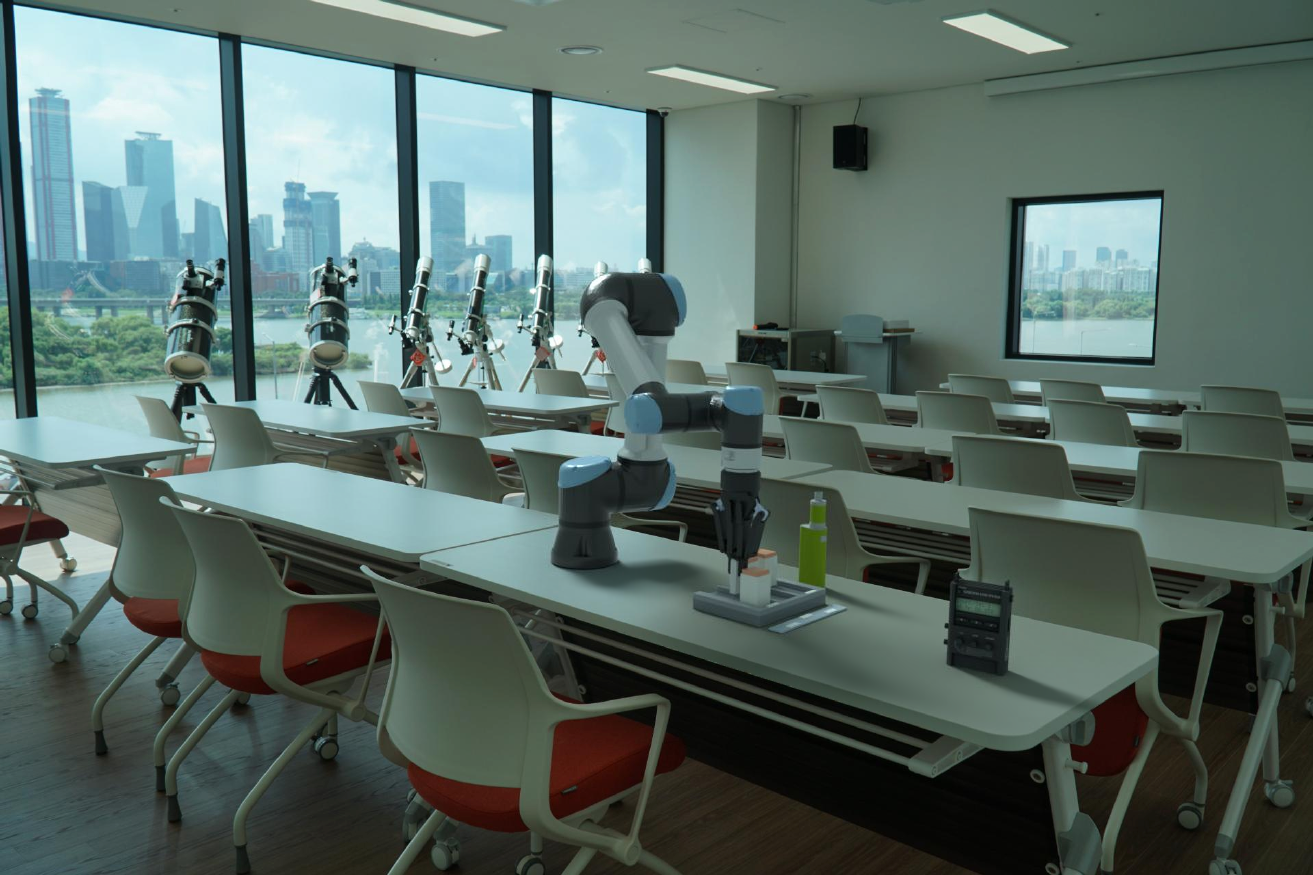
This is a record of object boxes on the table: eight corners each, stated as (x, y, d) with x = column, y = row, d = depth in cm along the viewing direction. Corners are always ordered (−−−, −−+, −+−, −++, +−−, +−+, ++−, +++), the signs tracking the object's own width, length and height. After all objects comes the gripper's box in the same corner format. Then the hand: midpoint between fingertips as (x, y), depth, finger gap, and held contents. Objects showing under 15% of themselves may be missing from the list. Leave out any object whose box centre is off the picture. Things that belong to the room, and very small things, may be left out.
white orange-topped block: (748, 584, 200) (749, 551, 199) (760, 580, 203) (761, 548, 202) (764, 588, 197) (765, 555, 196) (776, 584, 200) (777, 551, 199)
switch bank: (692, 608, 191) (693, 592, 190) (760, 587, 206) (760, 572, 206) (759, 627, 180) (760, 609, 180) (825, 603, 195) (825, 587, 195)
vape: (816, 590, 204) (819, 494, 201) (795, 584, 209) (798, 490, 206) (828, 587, 206) (832, 492, 204) (807, 581, 211) (810, 488, 208)
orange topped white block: (739, 604, 186) (740, 569, 185) (753, 600, 189) (753, 565, 188) (756, 609, 183) (757, 573, 182) (769, 604, 186) (771, 569, 185)
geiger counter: (938, 664, 162) (942, 574, 160) (946, 657, 166) (951, 569, 164) (1003, 678, 156) (1009, 585, 154) (1011, 670, 160) (1017, 579, 158)
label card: (768, 629, 179) (768, 627, 179) (833, 605, 194) (834, 603, 194) (782, 633, 177) (782, 631, 176) (847, 608, 192) (847, 606, 192)
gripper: (701, 466, 187) (698, 588, 190) (755, 475, 179) (751, 603, 182) (727, 462, 193) (723, 581, 196) (780, 471, 184) (776, 595, 187)
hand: (737, 592), depth 189 cm, fingers closed
